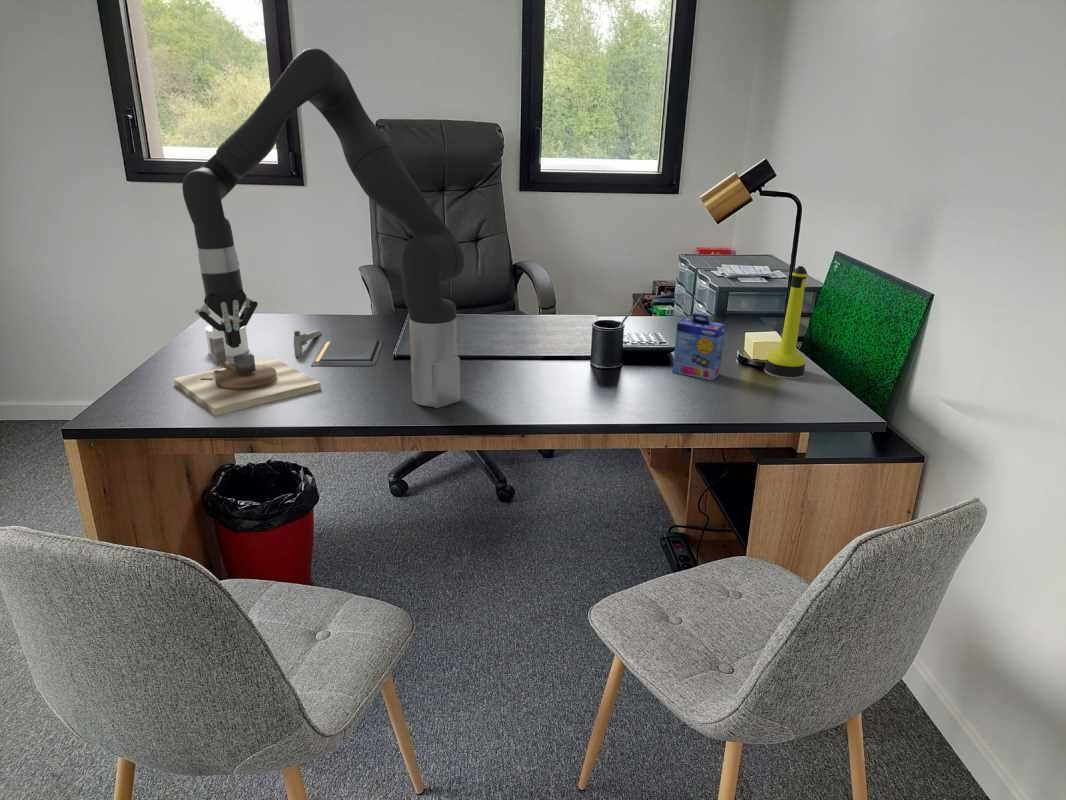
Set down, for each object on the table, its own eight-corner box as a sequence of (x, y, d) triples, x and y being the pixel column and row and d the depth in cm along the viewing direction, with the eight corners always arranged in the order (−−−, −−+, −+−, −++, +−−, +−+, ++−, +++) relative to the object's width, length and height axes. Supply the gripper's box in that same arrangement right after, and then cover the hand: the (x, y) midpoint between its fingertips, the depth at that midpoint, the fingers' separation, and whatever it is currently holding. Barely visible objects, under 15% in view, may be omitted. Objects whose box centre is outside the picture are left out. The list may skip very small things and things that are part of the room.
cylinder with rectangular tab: (216, 345, 178) (209, 297, 174) (253, 345, 179) (247, 298, 174) (202, 356, 170) (195, 306, 165) (241, 356, 170) (234, 307, 166)
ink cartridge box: (671, 373, 166) (677, 312, 161) (679, 366, 170) (685, 307, 165) (712, 381, 161) (720, 319, 156) (720, 374, 166) (727, 313, 160)
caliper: (299, 358, 170) (297, 333, 168) (295, 358, 170) (292, 332, 168) (321, 334, 190) (319, 310, 187) (317, 333, 190) (315, 310, 187)
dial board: (320, 389, 151) (320, 381, 151) (215, 415, 137) (214, 407, 136) (274, 363, 166) (273, 356, 165) (174, 385, 152) (173, 377, 151)
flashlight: (829, 270, 155) (812, 262, 163) (789, 269, 155) (774, 261, 163) (810, 378, 164) (795, 366, 173) (772, 378, 164) (758, 366, 172)
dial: (288, 377, 152) (284, 346, 149) (236, 393, 143) (231, 359, 140) (243, 360, 161) (238, 330, 159) (191, 374, 153) (186, 342, 150)
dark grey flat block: (374, 361, 165) (307, 361, 164) (374, 369, 166) (307, 369, 165) (386, 336, 184) (325, 336, 183) (386, 343, 184) (326, 343, 183)
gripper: (244, 261, 157) (257, 337, 163) (181, 270, 149) (197, 349, 155) (258, 266, 152) (270, 344, 158) (193, 275, 144) (209, 357, 150)
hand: (234, 346), depth 157 cm, fingers closed
